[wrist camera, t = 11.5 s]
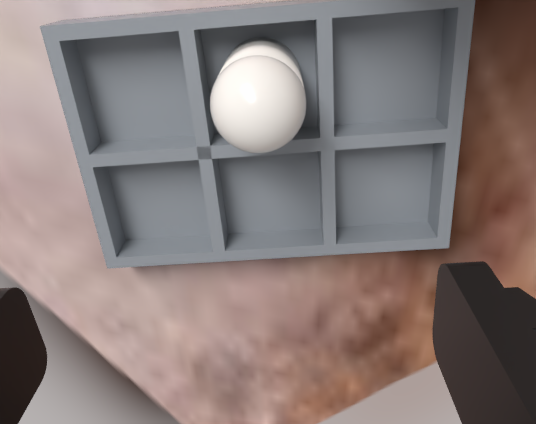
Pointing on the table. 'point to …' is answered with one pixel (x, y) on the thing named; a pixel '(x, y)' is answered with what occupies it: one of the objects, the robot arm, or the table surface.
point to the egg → (259, 96)
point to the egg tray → (278, 161)
